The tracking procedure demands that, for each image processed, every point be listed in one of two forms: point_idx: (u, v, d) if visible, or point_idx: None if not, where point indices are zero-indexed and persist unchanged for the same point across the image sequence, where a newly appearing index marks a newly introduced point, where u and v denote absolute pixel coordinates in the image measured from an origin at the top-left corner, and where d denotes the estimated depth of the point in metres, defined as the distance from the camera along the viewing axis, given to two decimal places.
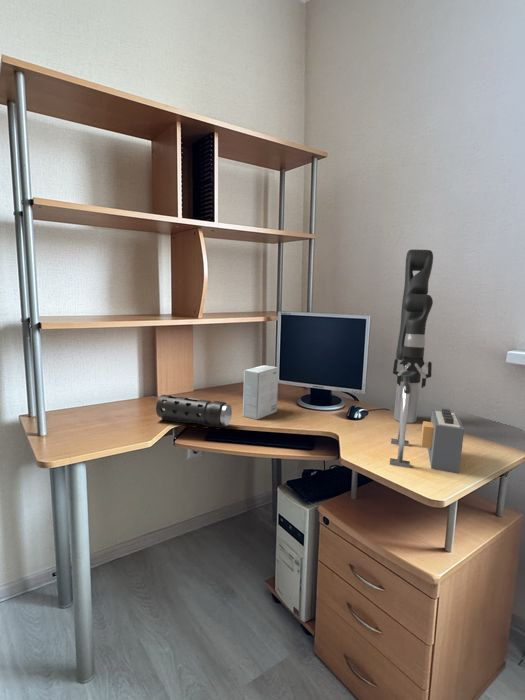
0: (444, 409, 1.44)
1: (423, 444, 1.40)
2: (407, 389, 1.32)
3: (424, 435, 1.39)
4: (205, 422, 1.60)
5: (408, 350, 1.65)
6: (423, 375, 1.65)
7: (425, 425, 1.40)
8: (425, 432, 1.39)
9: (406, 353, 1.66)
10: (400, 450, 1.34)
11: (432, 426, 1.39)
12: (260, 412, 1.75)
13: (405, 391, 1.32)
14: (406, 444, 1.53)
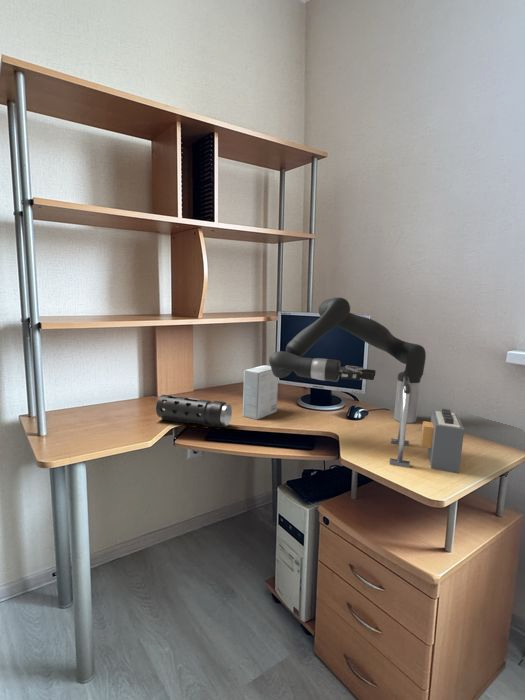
0: (444, 409, 1.44)
1: (423, 444, 1.40)
2: (407, 389, 1.32)
3: (424, 435, 1.39)
4: (205, 422, 1.60)
5: None
6: None
7: (425, 425, 1.40)
8: (425, 432, 1.39)
9: None
10: (400, 450, 1.34)
11: (432, 426, 1.39)
12: (260, 412, 1.75)
13: (405, 391, 1.32)
14: (406, 444, 1.53)
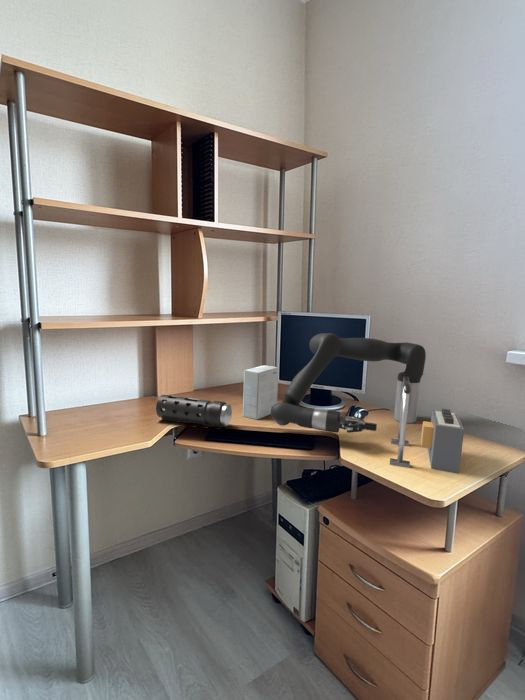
0: (444, 409, 1.44)
1: (423, 444, 1.40)
2: (407, 389, 1.32)
3: (424, 435, 1.39)
4: (205, 422, 1.60)
5: None
6: None
7: (425, 425, 1.40)
8: (425, 432, 1.39)
9: None
10: (400, 450, 1.34)
11: (432, 426, 1.39)
12: (260, 412, 1.75)
13: (405, 391, 1.32)
14: (406, 444, 1.53)
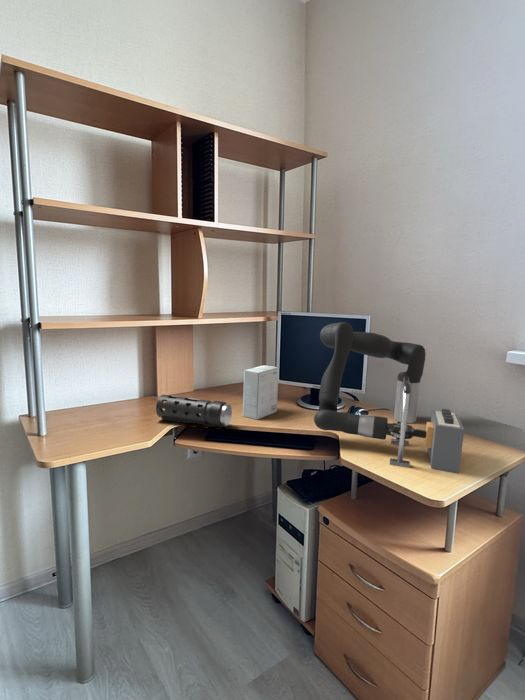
0: (444, 409, 1.44)
1: (427, 445, 1.39)
2: (407, 389, 1.32)
3: (428, 436, 1.39)
4: (205, 422, 1.60)
5: None
6: None
7: (429, 426, 1.39)
8: (429, 432, 1.38)
9: None
10: (400, 450, 1.34)
11: None
12: (260, 412, 1.75)
13: (405, 391, 1.32)
14: (406, 444, 1.53)
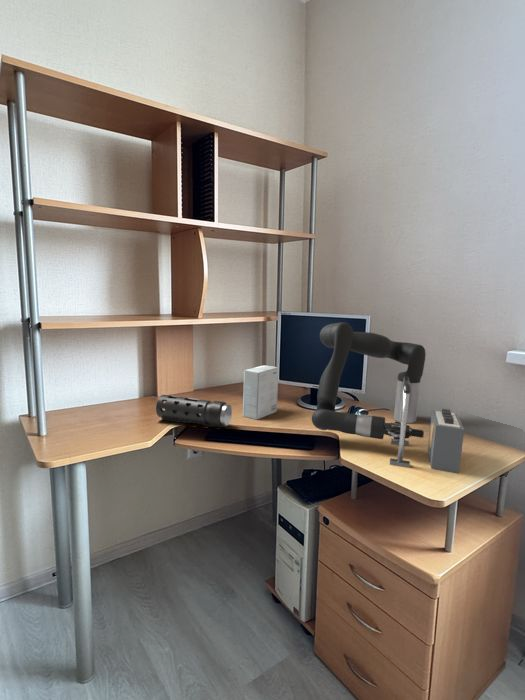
0: (444, 409, 1.44)
1: None
2: (407, 389, 1.32)
3: None
4: (205, 422, 1.60)
5: None
6: None
7: None
8: None
9: None
10: (400, 450, 1.34)
11: None
12: (260, 412, 1.75)
13: (405, 391, 1.32)
14: (406, 444, 1.53)
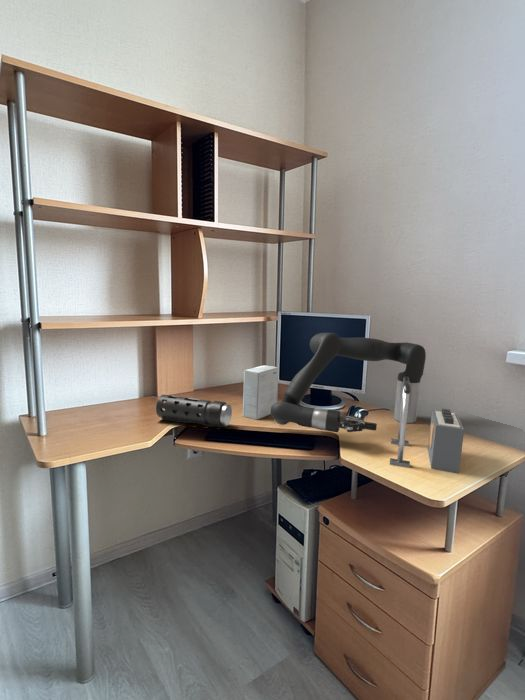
0: (444, 409, 1.44)
1: None
2: (407, 389, 1.32)
3: None
4: (205, 422, 1.60)
5: None
6: None
7: None
8: None
9: None
10: (400, 450, 1.34)
11: None
12: (260, 412, 1.75)
13: (405, 391, 1.32)
14: (406, 444, 1.53)
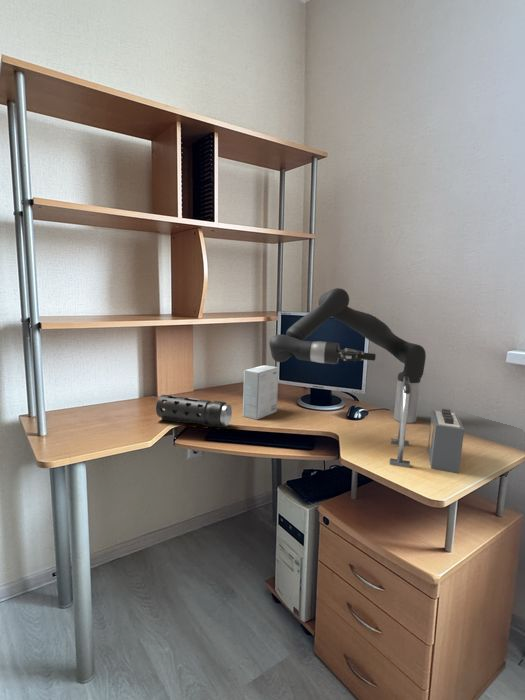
0: (444, 409, 1.44)
1: None
2: (407, 389, 1.32)
3: None
4: (205, 422, 1.60)
5: None
6: None
7: None
8: None
9: None
10: (400, 450, 1.34)
11: None
12: (260, 412, 1.75)
13: (405, 391, 1.32)
14: (406, 444, 1.53)
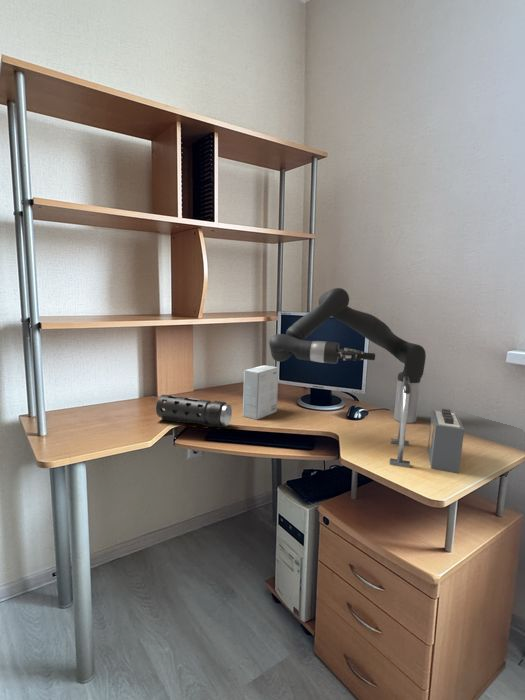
0: (444, 409, 1.44)
1: None
2: (407, 389, 1.32)
3: None
4: (205, 422, 1.60)
5: None
6: None
7: None
8: None
9: None
10: (400, 450, 1.34)
11: None
12: (260, 412, 1.75)
13: (405, 391, 1.32)
14: (406, 444, 1.53)
